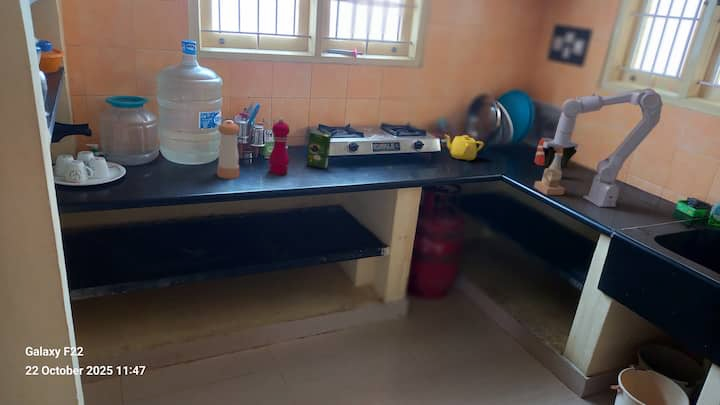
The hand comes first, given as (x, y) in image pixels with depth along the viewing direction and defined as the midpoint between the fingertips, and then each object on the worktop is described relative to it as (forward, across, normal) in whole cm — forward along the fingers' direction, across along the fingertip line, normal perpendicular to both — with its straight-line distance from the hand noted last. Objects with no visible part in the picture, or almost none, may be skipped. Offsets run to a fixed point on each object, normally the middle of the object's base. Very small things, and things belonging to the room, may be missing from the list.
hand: (555, 165), depth 198 cm
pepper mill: (+11, +102, -22) cm, 105 cm away
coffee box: (+11, +86, -28) cm, 91 cm away
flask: (+11, -14, -16) cm, 24 cm away
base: (+10, 0, 0) cm, 10 cm away
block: (+8, 0, 0) cm, 8 cm away
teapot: (+11, +17, -40) cm, 45 cm away
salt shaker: (+11, +120, -19) cm, 122 cm away
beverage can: (+11, -20, -31) cm, 38 cm away
